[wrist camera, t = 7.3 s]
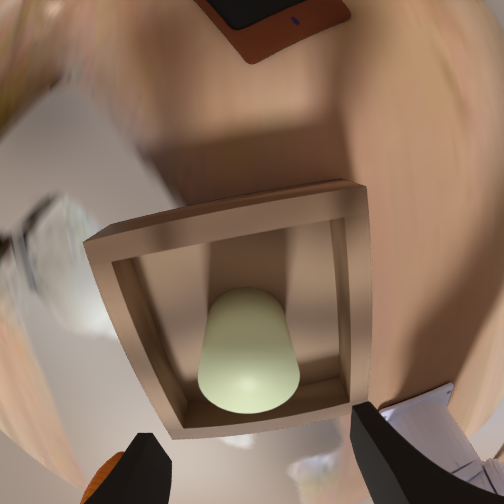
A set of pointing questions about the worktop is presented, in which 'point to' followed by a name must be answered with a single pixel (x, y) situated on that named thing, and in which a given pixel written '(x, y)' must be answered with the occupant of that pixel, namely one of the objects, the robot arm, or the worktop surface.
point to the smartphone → (271, 22)
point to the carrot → (101, 476)
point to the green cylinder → (247, 353)
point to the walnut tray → (244, 275)
